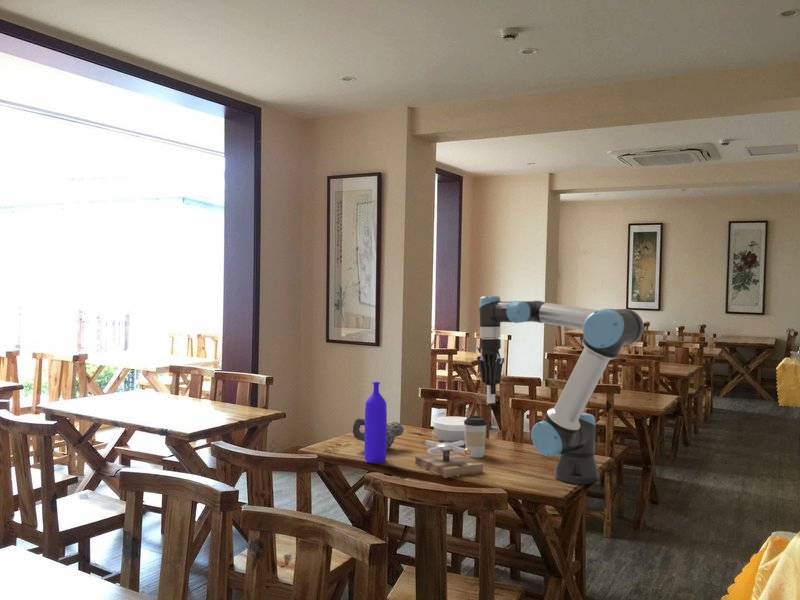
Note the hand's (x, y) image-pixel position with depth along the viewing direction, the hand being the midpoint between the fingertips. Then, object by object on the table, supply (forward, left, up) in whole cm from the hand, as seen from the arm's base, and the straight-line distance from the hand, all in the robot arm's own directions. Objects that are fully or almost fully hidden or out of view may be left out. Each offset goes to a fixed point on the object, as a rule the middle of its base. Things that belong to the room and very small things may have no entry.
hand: (491, 402), depth 248 cm
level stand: (+6, +14, -24) cm, 28 cm away
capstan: (+6, +15, -17) cm, 23 cm away
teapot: (+43, +23, -24) cm, 55 cm away
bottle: (+27, +33, -24) cm, 49 cm away
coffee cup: (+17, -6, -24) cm, 30 cm away
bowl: (+41, -13, -24) cm, 50 cm away
